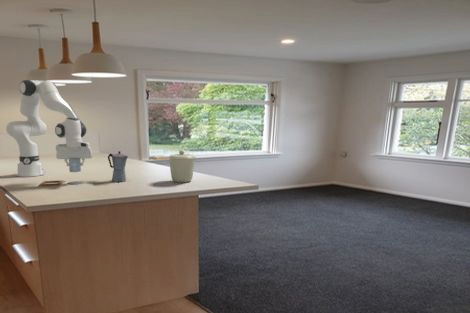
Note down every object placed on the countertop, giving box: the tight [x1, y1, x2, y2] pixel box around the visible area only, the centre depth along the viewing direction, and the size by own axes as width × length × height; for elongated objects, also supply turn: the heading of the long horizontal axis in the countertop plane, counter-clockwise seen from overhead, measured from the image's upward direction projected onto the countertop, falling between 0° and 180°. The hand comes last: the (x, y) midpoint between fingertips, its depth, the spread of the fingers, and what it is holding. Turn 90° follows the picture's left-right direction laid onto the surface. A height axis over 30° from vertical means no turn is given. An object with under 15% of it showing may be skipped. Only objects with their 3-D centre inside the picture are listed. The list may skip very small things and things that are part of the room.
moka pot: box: [107, 151, 129, 183], centre depth 217 cm, size 10×15×20 cm, turn 78°
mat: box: [66, 180, 85, 186], centre depth 206 cm, size 10×10×1 cm
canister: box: [167, 149, 196, 183], centre depth 218 cm, size 18×18×21 cm
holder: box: [36, 179, 66, 188], centre depth 203 cm, size 17×13×2 cm
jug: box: [68, 159, 82, 173], centre depth 201 cm, size 13×6×8 cm, turn 24°
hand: (75, 165), depth 205 cm, fingers closed on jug, 6 cm apart
